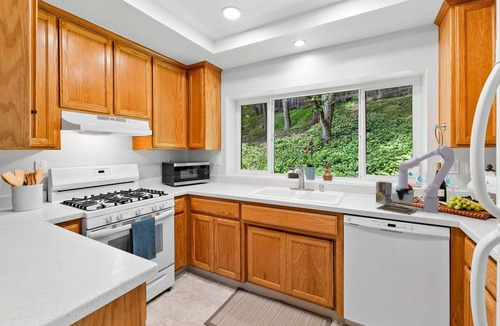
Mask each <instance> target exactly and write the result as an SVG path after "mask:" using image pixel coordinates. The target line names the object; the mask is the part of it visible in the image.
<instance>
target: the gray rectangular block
mask: <svg viewBox="0 0 500 326" xmlns="http://www.w3.org/2000/svg"><path fill="white" fill-rule="evenodd" d="M414 197H415V195H414V194H412V193H409V192H408V193H404V196H403V200H399V198H398V194H397V192H396V191H395V192H392V194H391V202H394V203H401V204H409V205H411V204H414V202H415V201H414V199H415V198H414Z"/></svg>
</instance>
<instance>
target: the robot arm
mask: <svg viewBox="0 0 500 326" xmlns="http://www.w3.org/2000/svg"><path fill="white" fill-rule="evenodd" d="M433 156H441V157H442V159H443V163H442V165H441V167H440V168H439V170H438V171H437V173H436V175H435V177H434V178H433V180H432V181H431V183H430V184H429V185H428V187H426V188H425V189H424V193H425V195H424V197H423V198H424V200H423V201H424V202H423V208H422V209H421V211H424V212H430V213H438V212H439V211H438V210H437V209H438V208H440V207H439V206H440V205H439V204H440V201H439V199H438V198H439V197H438V196H439V191H440V187H441V185H442V184H443V182H444V180H445V179H446V177H447V175H448V173H449V172H450V171H451V169H452V167H453V166H454V164H455V162H456V160H455V154H454V150H453V148H452V147H451V146H448V145H441V146H439V147H436V148H434V149H431V150H429V151H427V152H425V153H424V154H422V155H421V156H419V157H416V156H414V157H410V158H409V159H408V160H406V161H403V163H400V164H399V165H398V175H397V176H398V177H397V185H396V186H395V187H396V189H395V192H397V194H398V198H399V200H403V196H404V193H409V192H410V189H409V174H408V173H409V169H413V168H416V167H417V166H419V165H420V164H421V162H422V161H425V160H427V159H429V158H431V157H433Z"/></svg>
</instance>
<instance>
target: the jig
mask: <svg viewBox="0 0 500 326" xmlns="http://www.w3.org/2000/svg"><path fill="white" fill-rule="evenodd" d="M376 209H377V210H382V211H388V212H392V213H396V214H404V215H407V214H408V215H411V213H412V214H414V213H416V212H417V210H416V209H413V208H411V207H406V206H401V205H400V206H399V205H394V204H393V205H392V204H382V205H380V206H378V207H376Z"/></svg>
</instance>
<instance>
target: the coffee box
mask: <svg viewBox="0 0 500 326" xmlns="http://www.w3.org/2000/svg"><path fill="white" fill-rule="evenodd" d="M392 186H393V183H392V182H387V181H376V182H375V202H376V203H378V204H382V205H386V204H388V205H392V193H393V192H392Z"/></svg>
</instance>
